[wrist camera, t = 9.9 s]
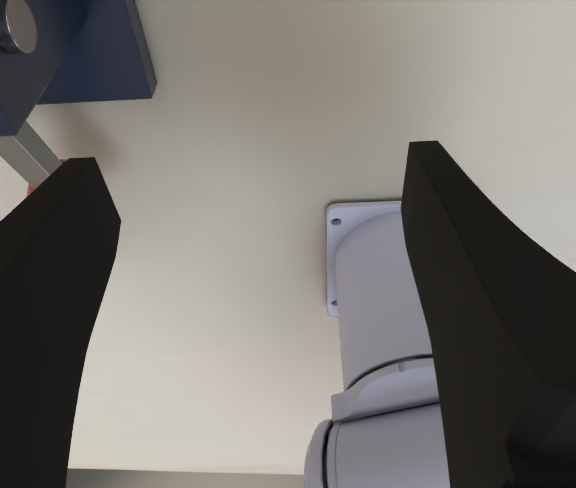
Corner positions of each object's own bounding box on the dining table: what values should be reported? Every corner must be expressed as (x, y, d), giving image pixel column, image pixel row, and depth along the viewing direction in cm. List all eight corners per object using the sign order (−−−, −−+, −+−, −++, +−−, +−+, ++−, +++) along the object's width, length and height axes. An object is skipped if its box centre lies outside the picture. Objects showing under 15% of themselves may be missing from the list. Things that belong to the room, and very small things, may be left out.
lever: (118, 180, 24) (110, 241, 23) (54, 183, 24) (43, 243, 23) (-54, -62, 13) (-87, 30, 12) (-171, -54, 13) (-214, 38, 12)
